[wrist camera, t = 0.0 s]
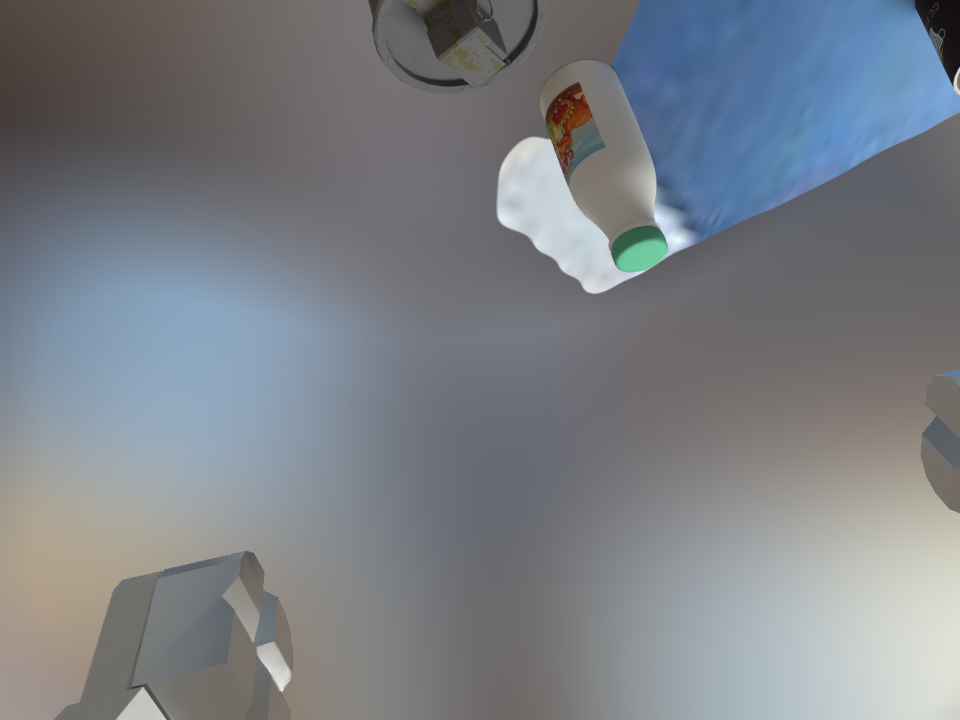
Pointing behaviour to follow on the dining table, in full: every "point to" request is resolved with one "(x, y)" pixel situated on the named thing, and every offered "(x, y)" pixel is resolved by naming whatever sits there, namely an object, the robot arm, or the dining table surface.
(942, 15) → the coffee mug
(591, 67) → the milk bottle
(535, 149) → the dining table surface
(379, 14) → the canister
